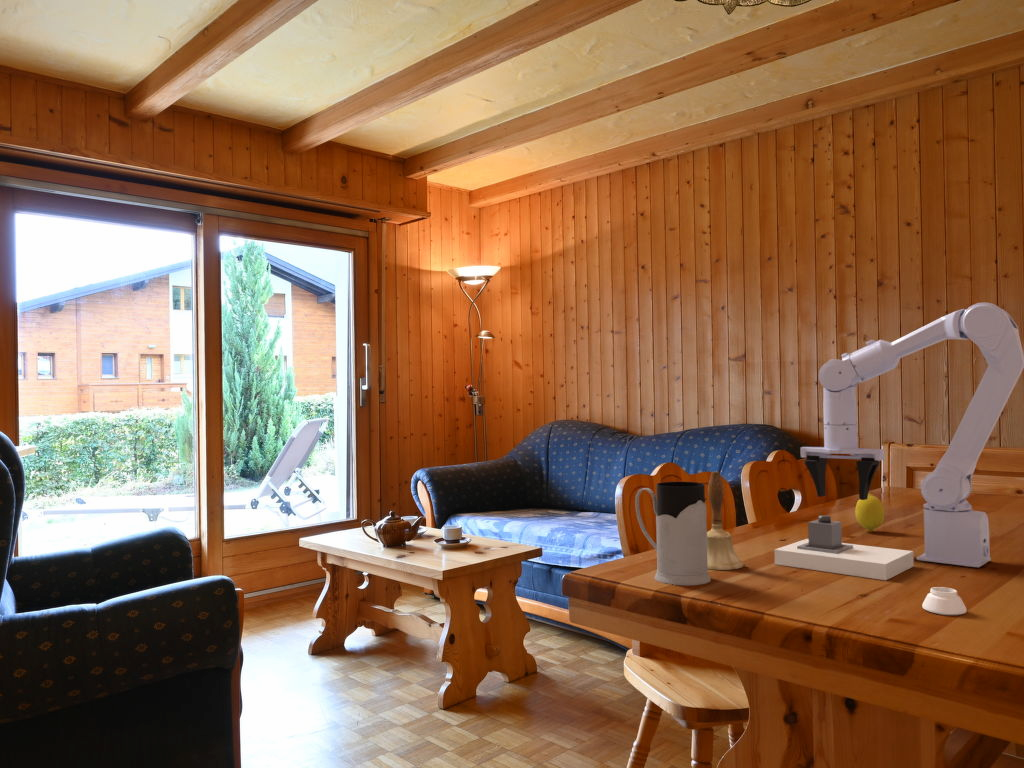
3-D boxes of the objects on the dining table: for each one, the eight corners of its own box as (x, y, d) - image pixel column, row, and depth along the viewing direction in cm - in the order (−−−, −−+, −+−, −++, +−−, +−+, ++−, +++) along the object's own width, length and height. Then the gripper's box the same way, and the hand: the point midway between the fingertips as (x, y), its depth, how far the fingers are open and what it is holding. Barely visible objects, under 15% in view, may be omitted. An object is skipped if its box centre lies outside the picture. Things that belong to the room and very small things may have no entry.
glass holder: (685, 588, 115) (682, 488, 116) (619, 572, 127) (617, 481, 127) (722, 579, 121) (720, 484, 121) (655, 564, 132) (653, 477, 132)
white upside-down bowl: (974, 613, 100) (937, 605, 104) (973, 591, 100) (937, 583, 105) (951, 619, 98) (914, 610, 102) (950, 596, 98) (914, 588, 102)
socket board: (913, 566, 127) (913, 548, 127) (885, 580, 118) (885, 561, 118) (807, 552, 140) (806, 536, 140) (774, 564, 131) (774, 547, 131)
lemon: (857, 533, 158) (856, 494, 158) (854, 529, 163) (853, 491, 163) (887, 534, 156) (886, 495, 156) (882, 530, 161) (881, 492, 161)
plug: (842, 562, 131) (841, 515, 131) (832, 566, 128) (831, 518, 128) (819, 559, 134) (818, 513, 134) (809, 563, 131) (808, 516, 131)
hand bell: (684, 565, 131) (682, 472, 131) (709, 558, 137) (707, 468, 137) (728, 573, 125) (726, 475, 125) (752, 564, 131) (750, 471, 131)
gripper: (793, 425, 145) (794, 497, 144) (873, 425, 135) (875, 503, 134) (808, 423, 150) (810, 493, 149) (887, 424, 140) (889, 499, 139)
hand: (842, 497), depth 142 cm, fingers open, 7 cm apart
